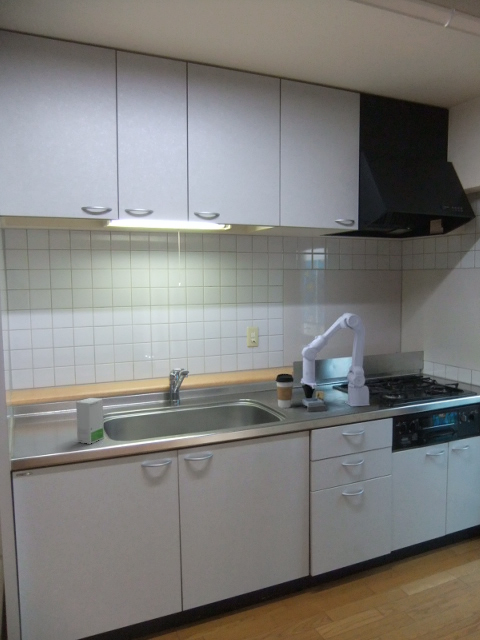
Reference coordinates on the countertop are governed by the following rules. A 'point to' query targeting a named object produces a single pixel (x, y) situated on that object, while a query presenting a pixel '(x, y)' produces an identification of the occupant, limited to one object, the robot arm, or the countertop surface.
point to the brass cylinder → (320, 395)
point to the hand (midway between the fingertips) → (308, 400)
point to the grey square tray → (312, 402)
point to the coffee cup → (284, 390)
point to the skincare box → (90, 420)
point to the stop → (316, 408)
